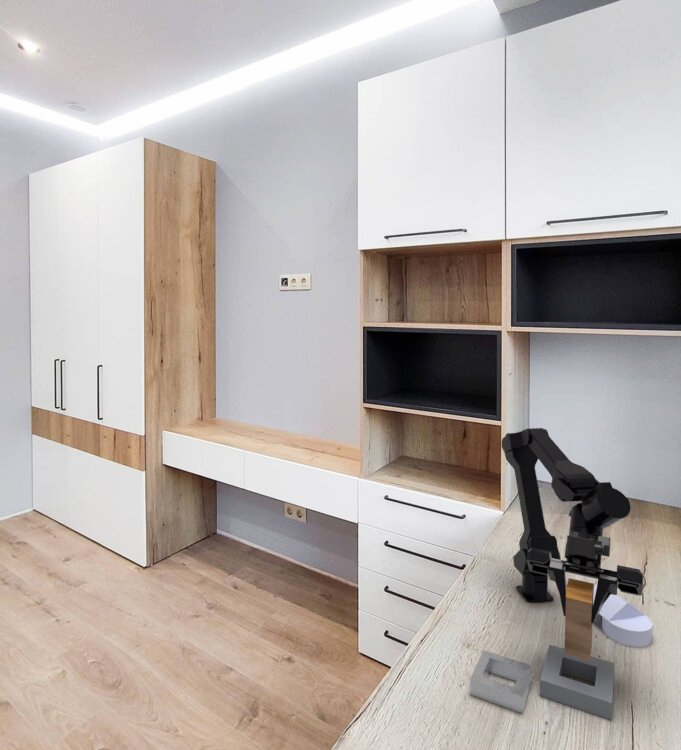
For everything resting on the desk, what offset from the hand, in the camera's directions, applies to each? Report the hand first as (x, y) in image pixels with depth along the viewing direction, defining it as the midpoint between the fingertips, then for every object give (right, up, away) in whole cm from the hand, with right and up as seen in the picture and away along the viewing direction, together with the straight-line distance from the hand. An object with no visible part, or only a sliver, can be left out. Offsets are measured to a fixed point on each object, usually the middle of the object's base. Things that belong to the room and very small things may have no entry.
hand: (578, 619), depth 86 cm
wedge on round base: (+18, -12, +19) cm, 29 cm away
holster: (-12, -14, +3) cm, 19 cm away
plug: (+1, -6, +2) cm, 7 cm away
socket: (+1, -13, +3) cm, 14 cm away
